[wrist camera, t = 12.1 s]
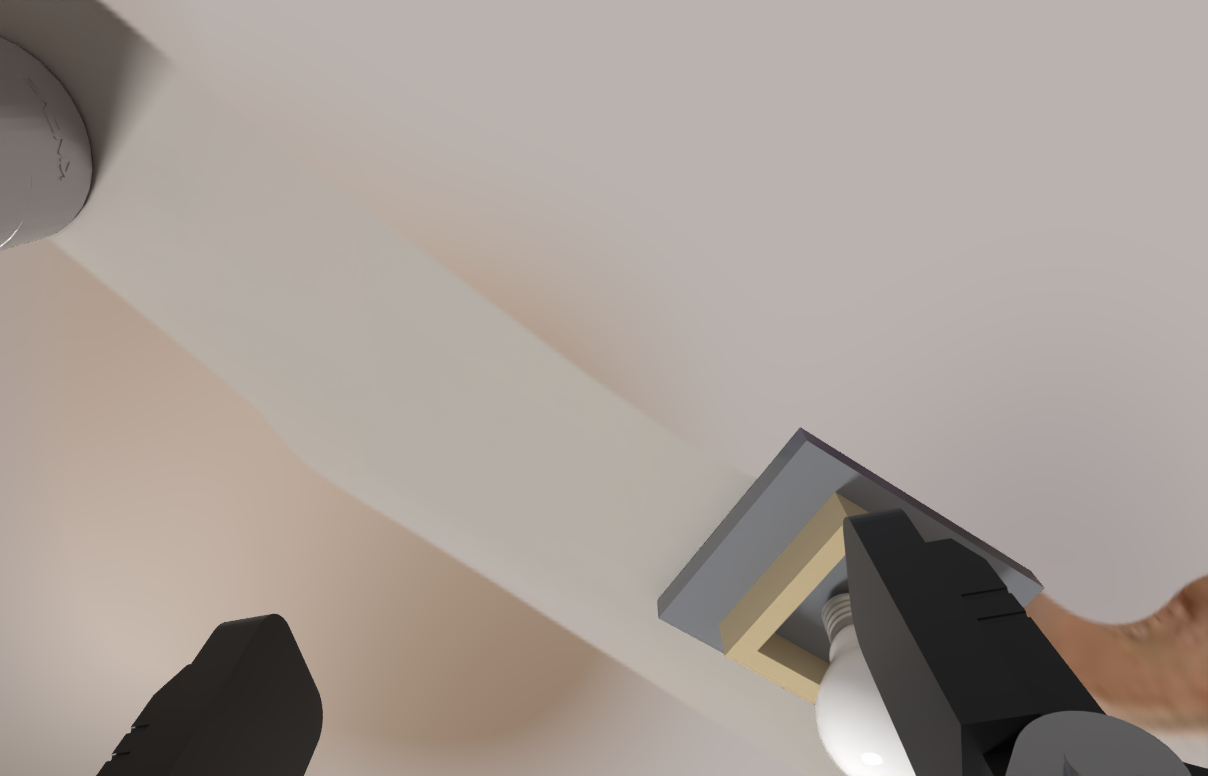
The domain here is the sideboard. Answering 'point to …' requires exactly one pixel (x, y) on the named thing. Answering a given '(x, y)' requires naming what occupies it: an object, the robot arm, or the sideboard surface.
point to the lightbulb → (854, 705)
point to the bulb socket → (797, 563)
